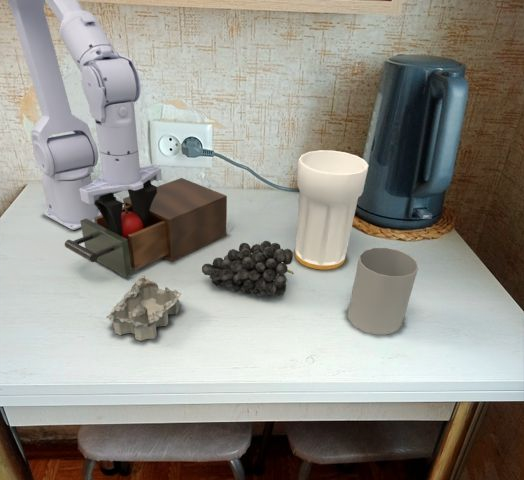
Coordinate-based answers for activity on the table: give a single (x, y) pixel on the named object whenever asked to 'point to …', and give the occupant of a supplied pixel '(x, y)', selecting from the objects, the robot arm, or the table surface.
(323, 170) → the cup
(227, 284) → the fruit
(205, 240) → the cabinet
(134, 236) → the drawer
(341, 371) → the table surface
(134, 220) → the apple
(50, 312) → the table surface
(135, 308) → the egg carton
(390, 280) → the cup
